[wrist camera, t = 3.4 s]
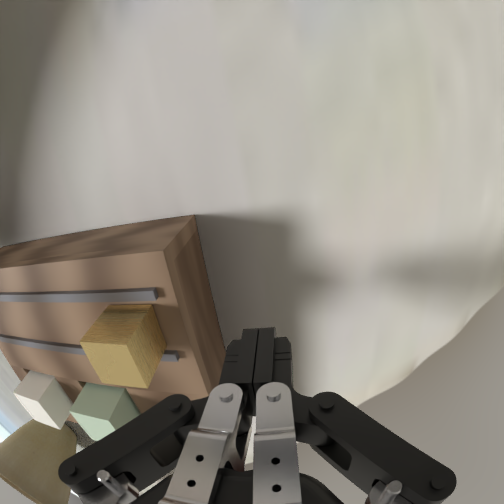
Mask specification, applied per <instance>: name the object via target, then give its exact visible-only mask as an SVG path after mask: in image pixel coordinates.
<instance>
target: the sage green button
mask: <svg viewBox="0 0 504 504" xmlns="http://www.w3.org/2000/svg"><path fill="white" fill-rule="evenodd" d="M69 412H70V413H71V414H72V416H73V417H74V418H75V419H76V421H77V422H78V423H79V424H80V426H81V427H82V428H83V429H84V430H85V432H86V433H87V434H88V435H89V436H90V438H91V439H92V440H95V441H99V440H100V439H102V438H104V437H105V436H107V435H109V434H110V433H112V432H113V431H115V430H117V429H118V428H120V427H122V426H123V425H125V424H126V423H128V422H129V421H131V420H133V419H134V418H136V417H137V416H139V415H140V414H141V412H140V411H139V409H138V408H137V406H136V404H135V403H134V401H133V399H132V398H131V396H130V394H129V393H128V391H127V389H126V388H121V387H114V386H107V385H100V384H94V383H88V382H87V383H86V384H85V386H84V387H83V389H82V391H81V392H80V394H79V395H78V397H77V399H76V400H75V402H74V404H73V405H72V407H71V409H70V410H69Z"/></svg>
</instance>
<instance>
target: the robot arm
mask: <svg viewBox="0 0 504 504" xmlns="http://www.w3.org/2000/svg"><path fill="white" fill-rule="evenodd" d="M252 416H256V434H254V458H253V470H249V471H245V468H244V466H245V460H246V455H247V450H248V446H249V441H250V437H251V432H252V427H251V424H252ZM296 441H298V442H303V443H308V444H310V446H311V447H312V449H314V450H315V451H316V452H317V453H318V454H319V455H320V456H322V457H323V458H324V459H325V460H326V461H327V462H328V463H330V464H331V465H332V466H333V467H334V468H335V469H337V470H338V471H339V472H340V473H342V474H343V475H344V476H345V477H346V478H347V479H349V480H350V481H351V482H352V483H354V484H355V485H356V486H357V487H359V488H360V489H361V490H363V491H364V492H365V493H366V494H368V497H367V498H366V501H365V504H441V503H442V502H443V501H444V500H445V499H446V498H447V497H448V496H450V495H451V494H452V492H453V491H454V489H455V487H456V476H455V474H454V472H453V471H452V470H451V469H449V468H448V467H446V466H444V465H443V464H441V463H439V462H438V461H436V460H435V459H433V458H431V457H430V456H428V455H427V454H425V453H423V452H422V451H420V450H419V449H417V448H416V447H414V446H412V445H411V444H409V443H408V442H406V441H405V440H403V439H402V438H400V437H399V436H397V435H396V434H394V433H393V432H391V431H390V430H388V429H387V428H385V427H384V426H382V425H381V424H379V423H378V422H377V421H375V420H374V419H372V418H371V417H369V416H368V415H367V414H365V413H364V412H362V411H361V410H359V409H358V408H357V407H355V406H354V405H352V404H351V403H350V402H348V401H347V400H346V399H344V398H343V397H341V396H340V395H338V394H336V393H333V392H322V393H319V394H317V395H315V396H314V397H307V396H303V395H300V394H299V393H297V392H296V391H295V390H294V389H293V366H292V353H291V343H290V342H289V340H288V339H287V337H279V338H276V330H275V327H271V328H260V329H259V328H255V329H243V333H242V339H241V340H233V341H232V342H231V343H230V344H229V346H228V347H227V350H226V356H225V359H224V363H223V368H222V372H221V376H220V380H219V385H218V386H216V387H215V388H214V389H213V390H212V391H211V393H210V395H209V396H207V397H205V398H201V399H196V400H192V401H191V400H190V399H189V398H188V397H187V396H185V395H183V394H173V395H170V396H168V397H166V398H165V399H163V400H162V401H160V402H159V403H157V404H156V405H154V406H153V407H151V408H150V409H148V410H147V411H145V412H144V413H142V414H140V415H139V416H137V417H136V418H134V419H133V420H131V421H129V422H128V423H126V424H125V425H123V426H122V427H120V428H118V429H117V430H115V431H113V432H112V433H110V434H109V435H107V436H105V437H104V438H102V439H100V440H99V441H97V442H95V443H94V444H92V445H90V446H88V447H87V448H85V449H83V450H82V451H80V452H78V453H76V454H75V455H73V456H71V457H69V458H67V459H66V460H64V461H63V462H62V463H61V464H60V466H59V469H58V475H59V478H60V480H61V481H62V482H63V483H65V484H66V485H67V486H68V487H70V488H71V489H72V490H73V491H74V492H75V493H76V494H77V495H78V496H79V497H80V499H81V501H82V502H83V504H344V503H343V502H341V500H339V499H338V498H337V497H336V496H335V495H334V494H333V493H332V492H331V491H330V490H329V489H328V488H327V487H326V486H325V485H324V484H322V483H321V482H319V481H318V480H317V479H315V478H313V477H311V476H308V475H306V474H302V473H299V467H298V456H297V445H296ZM174 468H175V471H174V473H173V474H171V475H170V476H168V477H166V478H165V479H163V480H162V481H161V482H159V483H158V484H157V485H155V486H154V487H152V488H151V489H150V490H148V491H147V492H145V493H144V494H142V495H141V496H139V492H140V491H142V490H143V489H145V488H146V487H148V486H149V485H151V484H152V483H154V482H155V481H157V480H158V479H160V478H161V477H163V476H164V475H166V474H167V473H169V472H170V471H171V470H173V469H174Z"/></svg>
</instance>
